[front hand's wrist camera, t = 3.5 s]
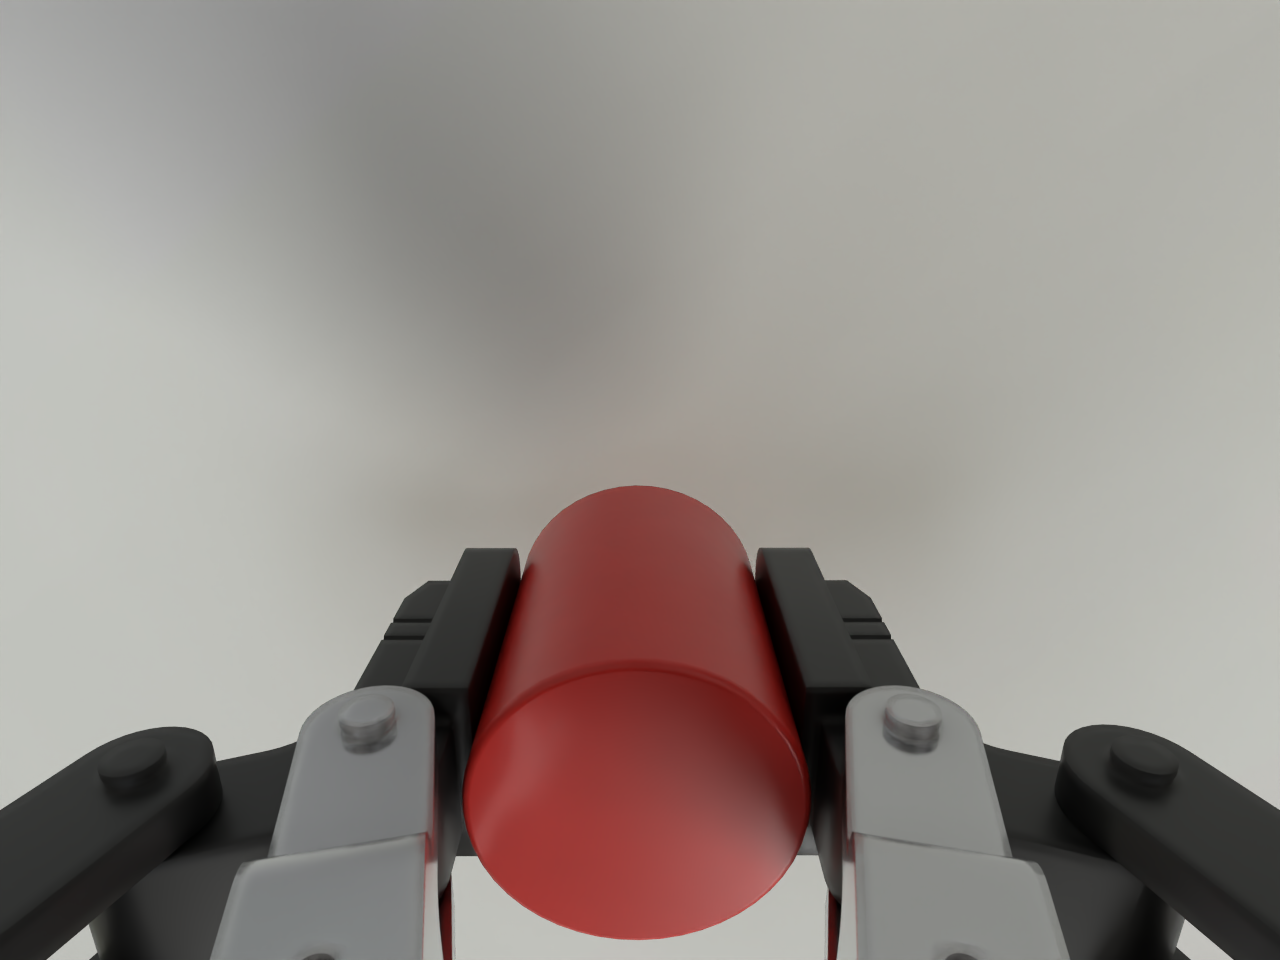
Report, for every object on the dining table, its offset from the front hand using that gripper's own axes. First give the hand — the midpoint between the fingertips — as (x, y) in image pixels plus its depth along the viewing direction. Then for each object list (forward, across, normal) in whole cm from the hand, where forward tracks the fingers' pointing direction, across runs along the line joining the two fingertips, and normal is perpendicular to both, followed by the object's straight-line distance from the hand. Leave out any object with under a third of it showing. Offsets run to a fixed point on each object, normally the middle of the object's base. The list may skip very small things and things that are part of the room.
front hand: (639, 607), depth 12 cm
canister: (0, 0, 0) cm, 0 cm away
